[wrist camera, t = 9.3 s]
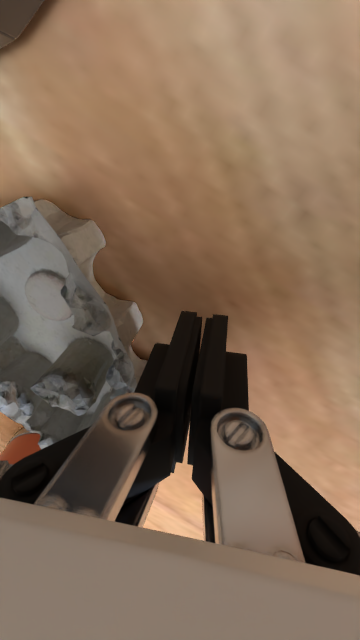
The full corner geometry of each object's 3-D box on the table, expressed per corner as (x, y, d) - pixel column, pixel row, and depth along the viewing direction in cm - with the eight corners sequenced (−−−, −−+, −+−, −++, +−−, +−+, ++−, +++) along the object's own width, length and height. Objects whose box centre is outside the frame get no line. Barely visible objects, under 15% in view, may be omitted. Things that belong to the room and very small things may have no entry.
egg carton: (-61, 232, 12) (-186, 267, 8) (98, 174, 10) (20, 188, 6) (62, 416, 16) (16, 487, 13) (188, 404, 14) (172, 486, 11)
